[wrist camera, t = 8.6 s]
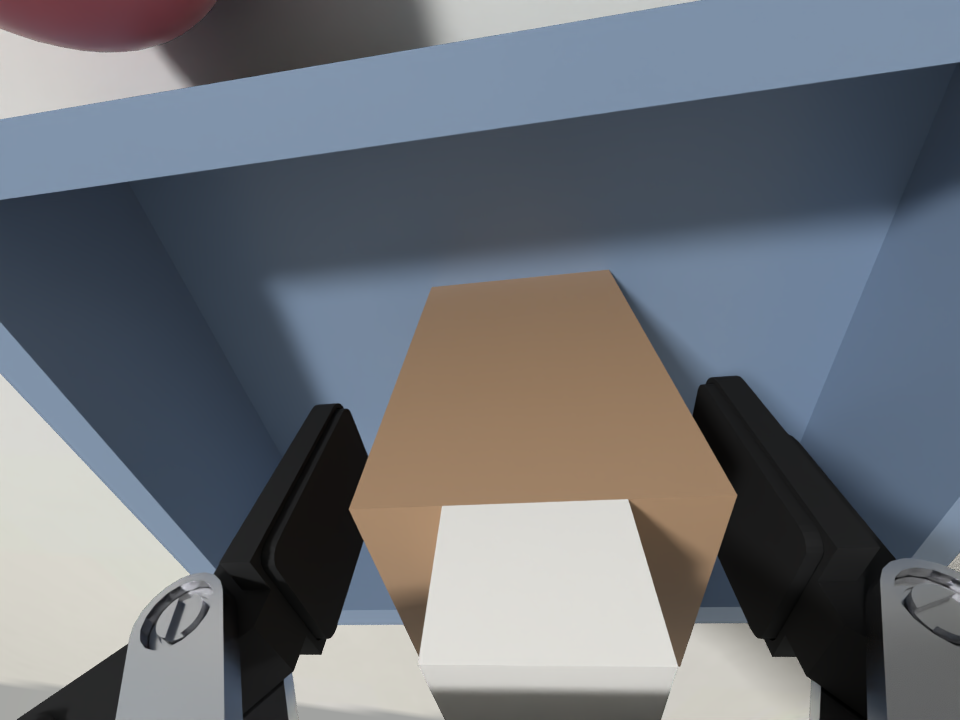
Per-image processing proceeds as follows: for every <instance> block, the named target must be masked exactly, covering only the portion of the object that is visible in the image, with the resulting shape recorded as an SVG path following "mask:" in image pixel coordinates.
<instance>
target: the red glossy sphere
mask: <svg viewBox="0 0 960 720" xmlns="http://www.w3.org/2000/svg"><path fill="white" fill-rule="evenodd" d="M216 1H217V0H0V29H3V30H6V31H8V32H11V33H14V34H17V35H20V36H23V37H26V38H29V39H32V40H35V41H38V42H42V43H46V44H51V45H55V46H59V47H64V48H70V49H75V50H81V51H93V52H127V51H138V50H142V49H146V48H149V47H153V46H156V45H160V44H163V43H167V42H169V41H171V40H173V39H175V38H177V37H179V36H180V35H182V34H184V33H185V32H187V31H188V30H189V29H191V28H192V27H193V26H194V25H196V24H197V23H198V22H199V21H201V20H202V19H203V18H204V17H205V16H206V14H207V13H208V12H209V11H210V10H211V8H212V7H213V6H214V5H215V3H216Z"/></svg>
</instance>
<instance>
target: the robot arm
mask: <svg viewBox="0 0 960 720" xmlns="http://www.w3.org/2000/svg"><path fill="white" fill-rule="evenodd" d="M692 416H693V418H694V420H695V422H696V423H697V425H698V427H699V429H700V430H701V432H702V434H703V436H704V437H705V439H706V441H707V443H708V444H709V446H710V448H711V450H712V451H713V453H714V455H715V457H716V459H717V460H718V462H719V464H720V466H721V467H722V469H723V471H724V473H725V474H726V476H727V478H728V480H729V481H730V483H731V485H732V487H733V488H734V490H735V492H736V494H737V498H736V501H735V504H734V507H733V510H732V513H731V516H730V519H729V522H728V525H727V528H726V531H725V534H724V537H723V540H722V543H721V546H720V549H719V552H718V555H717V556H718V558H719V560H720V563H721V565H722V567H723V569H724V571H725V574H726V576H727V578H728V580H729V582H730V585H731V587H732V589H733V591H734V593H735V596H736V598H737V600H738V602H739V604H740V607H741V609H742V611H743V613H744V616H745V618H746V620H747V622H748V624H749V626H750V628H751V630H752V632H753V633H754V635H755V636H756V637H757V638H760V639H764V640H765V642H766V644H767V646H768V648H769V651H770V653H771V655H772V657H797V659H798V661H799V663H800V664H801V666H802V668H803V670H804V672H805V674H806V676H807V677H809V678H810V679H811V696H810V713H809V720H960V572H958V571H955V570H953V569H951V568H948V567H946V566H944V565H942V564H938V563H934V562H931V561H927V560H923V559H913V558H902V559H898V560H896V558H895V557H894V556H893V555H892V554H891V552H890V551H889V550H888V549H887V548H886V546H885V545H884V544H883V543H882V542H881V540H880V539H879V538H878V537H877V536H876V534H875V533H874V532H873V531H872V530H871V528H870V527H869V526H868V525H867V523H866V522H865V521H864V520H863V519H862V517H861V516H860V515H859V514H858V513H857V511H856V510H855V509H854V508H853V507H852V505H851V504H850V503H849V502H848V501H847V499H846V498H845V497H844V496H843V495H842V493H841V492H840V491H839V490H838V489H837V487H836V486H835V485H834V484H833V482H832V481H831V480H830V479H829V478H828V476H827V475H826V474H825V473H824V472H823V470H822V469H821V468H820V467H819V466H818V464H817V463H816V462H815V461H814V460H813V458H812V457H811V456H810V455H809V454H808V452H807V451H806V450H805V449H804V447H803V446H802V445H801V444H800V443H799V442H798V441H797V440H796V439H795V438H794V437H793V436H791V435H789V434H788V433H787V432H786V431H785V430H784V429H783V427H782V426H781V425H780V424H779V422H778V421H777V420H776V419H775V417H774V416H773V415H772V414H771V413H770V411H769V410H768V409H767V408H766V406H765V405H764V404H763V403H762V402H761V400H760V399H759V398H758V397H757V395H756V394H755V393H754V392H753V391H752V389H751V388H750V387H749V386H748V384H747V383H746V382H745V381H744V380H743V379H742V378H741V377H740V376H737V375H736V376H722V377H711V378H709V379H708V380H707V382H706V384H702V385H700V386H699V388H698V391H697V396H696V401H695V406H694V410H693V415H692ZM367 459H368V454H367V452H366V449H365V447H364V444H363V442H362V439H361V437H360V434H359V432H358V429H357V427H356V424H355V421H354V419H353V416H352V414H351V412H350V410H349V409H344V407H343V406H342V405H341V404H339V403H333V404H319V405H315V406H314V407H313V408H312V410H311V411H310V413H309V415H308V416H307V418H306V420H305V421H304V423H303V425H302V426H301V428H300V430H299V431H298V433H297V435H296V436H295V438H294V439H293V441H292V443H291V444H290V446H289V448H288V449H287V451H286V453H285V454H284V456H283V458H282V459H281V461H280V463H279V464H278V466H277V468H276V469H275V471H274V473H273V474H272V476H271V478H270V479H269V481H268V483H267V484H266V486H265V488H264V489H263V491H262V492H261V494H260V496H259V497H258V499H257V501H256V502H255V504H254V506H253V507H252V509H251V511H250V512H249V514H248V516H247V517H246V519H245V521H244V522H243V524H242V526H241V527H240V529H239V531H238V532H237V534H236V536H235V537H234V539H233V540H232V542H231V544H230V545H229V547H228V549H227V550H226V552H225V554H224V555H223V557H222V559H221V560H220V562H219V563H220V564H219V565H218V567H217V569H216V570H215V572H214V574H210V573H206V572H203V573H195V574H191V575H189V576H186V577H184V578H181V579H179V580H177V581H176V582H174V583H172V584H171V585H169V586H168V587H166V588H165V589H164V590H163V591H161V592H160V593H159V594H158V595H157V596H155V597H154V598H153V599H152V600H151V602H150V603H149V604H148V605H147V606H146V607H145V608H144V610H143V611H142V612H141V614H140V616H139V617H138V619H137V620H136V622H135V624H134V626H133V629H132V632H131V635H130V638H129V643H128V644H127V645H126V646H124V647H123V648H121V649H120V650H118V651H117V652H115V653H114V654H112V655H111V656H109V657H108V658H106V659H105V660H104V661H102V662H101V663H99V664H98V665H96V666H95V667H93V668H92V669H90V670H89V671H87V672H86V673H84V674H83V675H81V676H80V677H79V678H77V679H76V680H74V681H73V682H71V683H70V684H68V685H67V686H65V687H64V688H62V689H61V690H59V691H58V692H56V693H55V694H54V695H52V696H51V697H49V698H48V699H46V700H45V701H43V702H42V703H40V704H39V705H37V706H36V707H34V708H33V709H31V710H30V711H29V712H27V713H26V714H24V715H23V716H21V717H20V718H18V719H17V720H299V719H298V712H297V705H296V697H295V690H294V683H293V676H292V672H293V671H294V668H295V666H296V663H297V660H298V657H299V655H321V654H322V651H323V648H324V645H325V642H326V639H329V638H331V637H332V636H333V634H334V633H335V630H336V628H337V625H338V621H339V618H340V615H341V612H342V609H343V606H344V602H345V599H346V596H347V593H348V590H349V586H350V583H351V580H352V577H353V574H354V570H355V567H356V564H357V561H358V558H359V554H360V551H361V548H362V545H363V542H364V540H363V538H362V536H361V534H360V532H359V530H358V528H357V526H356V523H355V521H354V519H353V517H352V515H351V513H350V511H349V507H350V505H351V502H352V499H353V497H354V494H355V491H356V489H357V486H358V483H359V481H360V478H361V475H362V473H363V470H364V467H365V464H366V462H367Z"/></svg>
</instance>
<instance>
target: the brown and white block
mask: <svg viewBox="0 0 960 720" xmlns="http://www.w3.org/2000/svg"><path fill="white" fill-rule="evenodd" d="M736 498H737V494H736V492H735V490H734V488H733V487H732V485H731V483H730V481H729V480H728V478H727V476H726V474H725V473H724V471H723V469H722V467H721V466H720V464H719V462H718V460H717V459H716V457H715V455H714V453H713V451H712V450H711V448H710V446H709V444H708V443H707V441H706V439H705V437H704V436H703V434H702V432H701V430H700V429H699V427H698V425H697V423H696V422H695V420H694V418H693V416H692V415H691V413H690V411H689V409H688V408H687V406H686V404H685V402H684V401H683V399H682V397H681V395H680V394H679V392H678V390H677V388H676V387H675V385H674V383H673V381H672V379H671V378H670V376H669V374H668V372H667V371H666V369H665V367H664V365H663V364H662V362H661V360H660V358H659V357H658V355H657V353H656V351H655V350H654V348H653V346H652V344H651V343H650V341H649V339H648V337H647V336H646V334H645V332H644V330H643V329H642V327H641V325H640V323H639V322H638V320H637V318H636V316H635V315H634V313H633V311H632V309H631V308H630V306H629V304H628V302H627V300H626V299H625V297H624V295H623V293H622V292H621V290H620V288H619V286H618V285H617V283H616V281H615V279H614V278H613V276H612V274H611V272H610V271H609V270H600V271H590V272H580V273H570V274H560V275H549V276H539V277H529V278H519V279H509V280H499V281H489V282H478V283H468V284H458V285H448V286H438V287H431V290H430V293H429V295H428V298H427V301H426V303H425V306H424V309H423V311H422V314H421V317H420V320H419V322H418V325H417V328H416V330H415V333H414V336H413V338H412V341H411V344H410V346H409V349H408V352H407V354H406V357H405V360H404V362H403V365H402V368H401V371H400V373H399V376H398V379H397V381H396V384H395V387H394V389H393V392H392V395H391V397H390V400H389V403H388V405H387V408H386V411H385V413H384V416H383V419H382V422H381V424H380V427H379V430H378V432H377V435H376V438H375V440H374V443H373V446H372V448H371V451H370V454H369V456H368V459H367V462H366V464H365V467H364V470H363V473H362V475H361V478H360V481H359V483H358V486H357V489H356V491H355V494H354V497H353V499H352V502H351V505H350V507H349V511H350V513H351V515H352V517H353V519H354V521H355V523H356V526H357V528H358V530H359V532H360V534H361V536H362V538H363V540H364V542H365V544H366V547H367V549H368V551H369V553H370V555H371V557H372V559H373V561H374V563H375V565H376V567H377V570H378V572H379V574H380V576H381V578H382V580H383V582H384V584H385V586H386V588H387V591H388V593H389V595H390V597H391V599H392V601H393V603H394V605H395V607H396V609H397V612H398V614H399V616H400V618H401V620H402V622H403V624H404V626H405V628H406V630H407V632H408V635H409V637H410V639H411V641H412V643H413V645H414V647H415V649H416V651H417V653H418V656H419V660H418V666H419V668H420V670H421V672H422V674H423V676H424V678H425V680H426V682H427V684H428V686H429V688H430V690H431V692H432V695H433V697H434V699H435V701H436V703H437V705H438V707H439V709H440V711H441V713H442V715H443V717H444V719H445V720H661V718H662V715H663V712H664V709H665V705H666V702H667V699H668V696H669V693H670V690H671V687H672V684H673V681H674V678H675V675H676V672H677V669H678V667H680V665H681V662H682V659H683V656H684V653H685V650H686V647H687V644H688V641H689V638H690V635H691V632H692V629H693V626H694V623H695V620H696V617H697V614H698V611H699V608H700V605H701V602H702V599H703V596H704V593H705V590H706V587H707V584H708V581H709V578H710V575H711V573H712V570H713V567H714V564H715V561H716V558H717V555H718V552H719V549H720V546H721V543H722V540H723V537H724V534H725V531H726V528H727V525H728V522H729V519H730V516H731V513H732V510H733V507H734V504H735V501H736Z"/></svg>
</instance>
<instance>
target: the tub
mask: <svg viewBox="0 0 960 720" xmlns="http://www.w3.org/2000/svg"><path fill="white" fill-rule="evenodd" d="M600 270H609V271H610V272H611V274H612V276H613V278H614V279H615V281H616V283H617V285H618V286H619V288H620V290H621V292H622V293H623V295H624V297H625V299H626V300H627V302H628V304H629V306H630V308H631V309H632V311H633V313H634V315H635V316H636V318H637V320H638V322H639V323H640V325H641V327H642V329H643V330H644V332H645V334H646V336H647V337H648V339H649V341H650V343H651V344H652V346H653V348H654V350H655V351H656V353H657V355H658V357H659V358H660V360H661V362H662V364H663V365H664V367H665V369H666V371H667V372H668V374H669V376H670V378H671V379H672V381H673V383H674V385H675V387H676V388H677V390H678V392H679V394H680V395H681V397H682V399H683V401H684V402H685V404H686V406H687V408H688V409H689V411H690V413H691V415H693V410H694V406H695V401H696V396H697V391H698V388H699V386H700V385H702V384H706V382H707V380H708V379H709V378H711V377H722V376H736V375H737V376H740V377H741V378H742V379H743V380H744V381H745V382H746V383H747V384H748V386H749V387H750V388H751V389H752V391H753V392H754V393H755V394H756V395H757V397H758V398H759V399H760V400H761V402H762V403H763V404H764V405H765V406H766V408H767V409H768V410H769V411H770V413H771V414H772V415H773V416H774V417H775V419H776V420H777V421H778V422H779V424H780V425H781V426H782V427H783V429H784V430H785V431H786V432H787V433H788V434H789V435H791V436H793V437H794V438H795V439H796V440H797V441H798V442H799V443H800V444H801V445H802V446H803V447H804V449H805V450H806V451H807V452H808V454H809V455H810V456H811V457H812V458H813V460H814V461H815V462H816V463H817V464H818V466H819V467H820V468H821V469H822V470H823V472H824V473H825V474H826V475H827V476H828V478H829V479H830V480H831V481H832V482H833V484H834V485H835V486H836V487H837V489H838V490H839V491H840V492H841V493H842V495H843V496H844V497H845V498H846V499H847V501H848V502H849V503H850V504H851V505H852V507H853V508H854V509H855V510H856V511H857V513H858V514H859V515H860V516H861V517H862V519H863V520H864V521H865V522H866V523H867V525H868V526H869V527H870V528H871V530H872V531H873V532H874V533H875V534H876V536H877V537H878V538H879V539H880V540H881V542H882V543H883V544H884V545H885V546H886V548H887V549H888V550H889V551H890V552H891V554H892V555H893V556H894V557H895V558H896V560H898V559H902V558H913V559H923V560H927V561H931V562H934V563H938V564H942V565H944V566H946V567H947V566H948V565H949V564H950V563H951V562H952V561H953V559H954V558H955V557H956V556H957V555H958V554H959V553H960V0H700V1H695V2H689V3H683V4H677V5H671V6H665V7H659V8H653V9H647V10H642V11H636V12H630V13H624V14H618V15H612V16H606V17H600V18H595V19H589V20H583V21H577V22H571V23H565V24H559V25H553V26H547V27H542V28H536V29H530V30H524V31H518V32H512V33H506V34H500V35H494V36H489V37H483V38H477V39H471V40H465V41H459V42H453V43H447V44H442V45H436V46H430V47H424V48H418V49H412V50H406V51H400V52H394V53H389V54H383V55H377V56H371V57H365V58H359V59H353V60H347V61H341V62H336V63H330V64H324V65H318V66H312V67H306V68H300V69H294V70H289V71H283V72H277V73H271V74H265V75H259V76H253V77H247V78H241V79H236V80H230V81H224V82H218V83H212V84H206V85H200V86H194V87H188V88H183V89H177V90H171V91H165V92H159V93H153V94H147V95H141V96H136V97H130V98H124V99H118V100H112V101H106V102H100V103H94V104H88V105H83V106H77V107H71V108H65V109H59V110H53V111H47V112H41V113H36V114H30V115H24V116H18V117H12V118H6V119H0V374H1V375H2V376H3V377H4V378H5V379H6V380H7V381H8V382H9V383H10V384H11V385H12V386H13V387H14V388H15V389H16V390H17V391H18V393H19V394H20V395H21V396H22V397H23V398H24V399H25V400H26V401H27V402H28V403H29V404H30V405H31V406H32V407H33V408H34V409H35V411H36V412H37V413H38V414H39V415H40V416H41V417H42V418H43V419H44V420H45V421H46V422H47V423H48V424H49V425H50V426H51V427H52V429H53V430H54V431H55V432H56V433H57V434H58V435H59V436H60V437H61V438H62V439H63V440H64V441H65V442H66V443H67V444H68V445H69V447H70V448H71V449H72V450H73V451H74V452H75V453H76V454H77V455H78V456H79V457H80V458H81V459H82V460H83V461H84V462H85V463H86V464H87V466H88V467H89V468H90V469H91V470H92V471H93V472H94V473H95V474H96V475H97V476H98V477H99V478H100V479H101V480H102V481H103V482H104V484H105V485H106V486H107V487H108V488H109V489H110V490H111V491H112V492H113V493H114V494H115V495H116V496H117V497H118V498H119V499H120V500H121V502H122V503H123V504H124V505H125V506H126V507H127V508H128V509H129V510H130V511H131V512H132V513H133V514H134V515H135V516H136V517H137V518H138V520H139V521H140V522H141V523H142V524H143V525H144V526H145V527H146V528H147V529H148V530H149V531H150V532H151V533H152V534H153V535H154V536H155V537H156V539H157V540H158V541H159V542H160V543H161V544H162V545H163V546H164V547H165V548H166V549H167V550H168V551H169V552H170V553H171V554H172V555H173V557H174V558H175V559H176V560H177V561H178V562H179V563H180V564H181V565H182V566H183V567H184V568H185V569H186V570H187V571H188V572H189V573H190V575H191V574H195V573H203V572H206V573H210V574H214V572H215V570H216V569H217V567H218V565H219V564H220V563H219V562H220V560H221V559H222V557H223V555H224V554H225V552H226V550H227V549H228V547H229V545H230V544H231V542H232V540H233V539H234V537H235V536H236V534H237V532H238V531H239V529H240V527H241V526H242V524H243V522H244V521H245V519H246V517H247V516H248V514H249V512H250V511H251V509H252V507H253V506H254V504H255V502H256V501H257V499H258V497H259V496H260V494H261V492H262V491H263V489H264V488H265V486H266V484H267V483H268V481H269V479H270V478H271V476H272V474H273V473H274V471H275V469H276V468H277V466H278V464H279V463H280V461H281V459H282V458H283V456H284V454H285V453H286V451H287V449H288V448H289V446H290V444H291V443H292V441H293V439H294V438H295V436H296V435H297V433H298V431H299V430H300V428H301V426H302V425H303V423H304V421H305V420H306V418H307V416H308V415H309V413H310V411H311V410H312V408H313V407H314V406H315V405H319V404H333V403H339V404H341V405H342V406H343V407H344V409H349V410H350V412H351V414H352V416H353V419H354V421H355V424H356V427H357V429H358V432H359V434H360V437H361V439H362V442H363V444H364V447H365V449H366V452H367V454H368V456H369V454H370V451H371V448H372V446H373V443H374V440H375V438H376V435H377V432H378V430H379V427H380V424H381V422H382V419H383V416H384V413H385V411H386V408H387V405H388V403H389V400H390V397H391V395H392V392H393V389H394V387H395V384H396V381H397V379H398V376H399V373H400V371H401V368H402V365H403V362H404V360H405V357H406V354H407V352H408V349H409V346H410V344H411V341H412V338H413V336H414V333H415V330H416V328H417V325H418V322H419V320H420V317H421V314H422V311H423V309H424V306H425V303H426V301H427V298H428V295H429V293H430V290H431V287H438V286H448V285H458V284H468V283H478V282H489V281H499V280H509V279H519V278H529V277H539V276H549V275H560V274H570V273H580V272H590V271H600ZM695 623H748V622H747V620H746V618H745V616H744V613H743V611H742V609H741V607H740V604H739V602H738V600H737V598H736V596H735V593H734V591H733V589H732V587H731V585H730V582H729V580H728V578H727V576H726V574H725V571H724V569H723V567H722V565H721V563H720V560H719V558H718V556H717V558H716V561H715V564H714V567H713V570H712V573H711V575H710V578H709V581H708V584H707V587H706V590H705V593H704V596H703V599H702V602H701V605H700V608H699V611H698V614H697V617H696V620H695ZM338 625H404V624H403V622H402V620H401V618H400V616H399V614H398V612H397V609H396V607H395V605H394V603H393V601H392V599H391V597H390V595H389V593H388V591H387V588H386V586H385V584H384V582H383V580H382V578H381V576H380V574H379V572H378V570H377V567H376V565H375V563H374V561H373V559H372V557H371V555H370V553H369V551H368V549H367V547H366V544H365V542H363V545H362V548H361V551H360V554H359V558H358V561H357V564H356V567H355V570H354V574H353V577H352V580H351V583H350V586H349V590H348V593H347V596H346V599H345V602H344V606H343V609H342V612H341V615H340V618H339V621H338Z"/></svg>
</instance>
